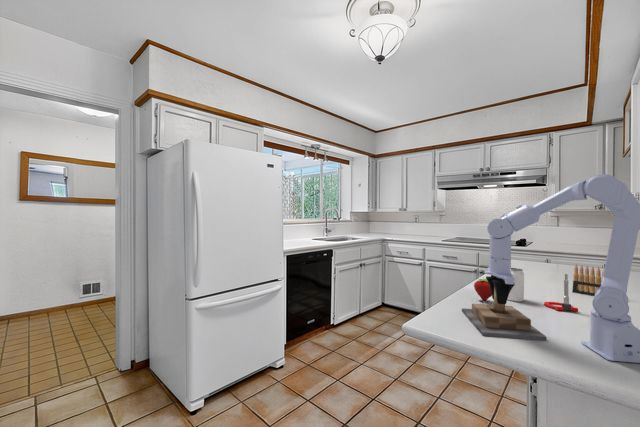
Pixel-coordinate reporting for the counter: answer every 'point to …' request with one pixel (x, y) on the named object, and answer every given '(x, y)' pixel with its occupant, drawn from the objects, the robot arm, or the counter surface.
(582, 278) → the ammunition clip
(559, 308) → the tow hook
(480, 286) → the strawberry
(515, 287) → the can
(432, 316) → the counter surface
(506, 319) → the holder
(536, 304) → the counter surface
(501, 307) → the peg
